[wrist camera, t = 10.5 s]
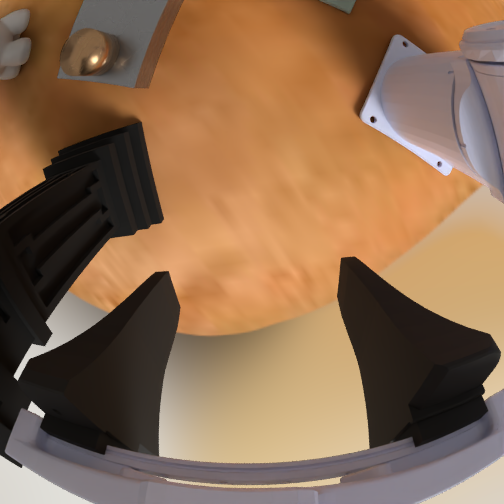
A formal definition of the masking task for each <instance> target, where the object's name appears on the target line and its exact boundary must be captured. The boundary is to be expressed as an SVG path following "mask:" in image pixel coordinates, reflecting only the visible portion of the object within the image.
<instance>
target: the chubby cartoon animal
mask: <svg viewBox="0 0 504 504" xmlns="http://www.w3.org/2000/svg"><path fill="white" fill-rule="evenodd" d="M29 19H30V11H29V10H28V9H20V10H17V11H14V12H12V13H10V14H8V15H6V16H5V17H3V18H1V19H0V79H1V80H8V79H12V78H15V77H16V76H17V75H18V74H19V71H20V67H21V65H22V64H24V63H26V62H27V60H28V58H29V55H30V51H31V40H30V38H20V33H22V32H24V31H25V30H26V28H27V26H28V23H29Z"/></svg>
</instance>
